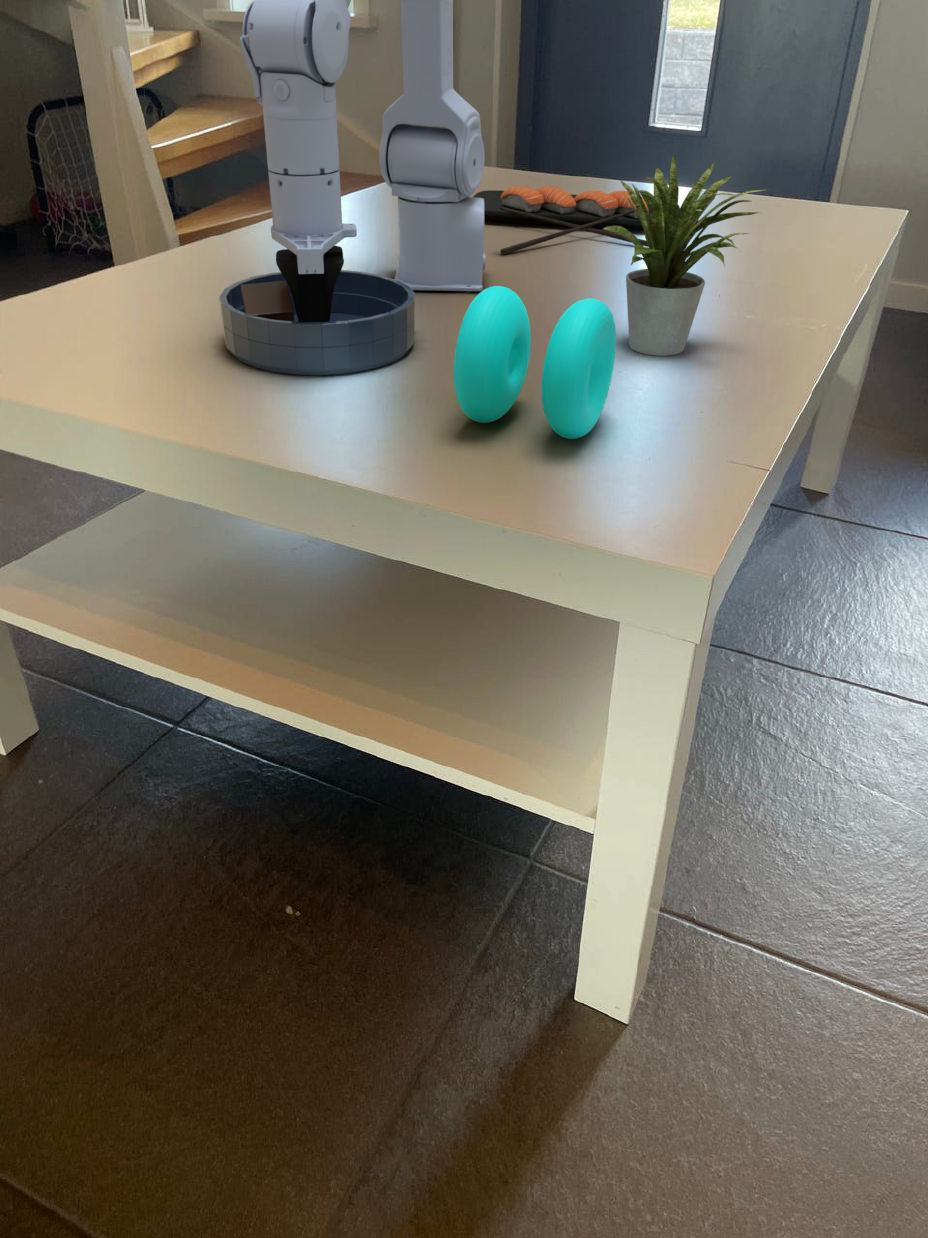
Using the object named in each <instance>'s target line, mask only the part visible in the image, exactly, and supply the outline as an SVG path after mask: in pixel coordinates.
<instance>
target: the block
mask: <svg viewBox="0 0 928 1238" xmlns="http://www.w3.org/2000/svg"><path fill="white" fill-rule="evenodd" d="M241 291H242V298H243V306H244V313H247V314H249V315H252V316H257V317H262V318H267V319H272V320H282V321H292V322H294V311H293V306H292V302H291V297H290V293H289V288H288V284H287V282H286V281H278V282H267V283H256V284H245V285H241Z"/></svg>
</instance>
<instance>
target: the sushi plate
mask: <svg viewBox="0 0 928 1238" xmlns="http://www.w3.org/2000/svg"><path fill="white" fill-rule="evenodd" d="M622 192H623V193H624V194H625V195H626V196H627V197H628V198H629V199H630V201H631V202H632V200H631V198H630V196H629V193H628V191H627V190H615V191H611V192H609V193H606V192H604V191H600V190H588V191H584V192H581V193H579V194H570V193H569V192H568V191H565V190H564V189H561V188H558V187H556V186H540V187H538V188H536V189H533V188H531V187H528V186H513V187H510V188H507V189H505V190H497V189H495V190H494V189H490V190H481V191H478V192H477V193H475V194H474V195H473V196H472V197H473V198H483V199H484V216H488V217H489V219H490V220H493V221H496V222H505V223H506V222H507V223H518V224H522V223H523V224H536V225H553V226H565V227H568V229H565V230H561V231H558V232H555V233H551V234H548V235H544V236H540V237H537V238H534V239H529V240H527V241H523V242H520V243H517V244H513V245H510V246H507V247H504V248H503V247H502V248H501V249H500V255H508V254H511V253H514V252H517V251H520V250H524V249H526V248H529V247H533V246H536V245H538V244H542V243H544V242H549V241H550V240H554V239H556V238H559V237H563V236H566V235H568V234H571V233H574V232H578V231H585V232H588V233H591V234H597V235H600V236H605V237H607V238H612V239H615V240H619V241H624V242H627V243H631V244H633V243H632V242H631V241H630V240H628V239H626V238H625V237H623V236H621V235H619V234H616V233H614V232H611V231H607V230H603V228H606V227H608V226H621V227H623V228H625V229H627V230H631V231H644V229H643V226H642V224H641V221H640V219H639V218H638V216H637V214H636V212H635V211H634V209H633V208H632V206H631V204H630V202H629V200H628V199H627V198H626V196H625V195H624V194H623V193H622ZM641 197H642V196H641ZM642 200H643V202H644V204H645V206H646V208H647V211H648V214H649V217H650V220H651V216H650V213H649V209H648V207H647V204H646V202H645V200H644V199H643V197H642ZM632 204H633V202H632ZM633 206H634V208H635V210H636V211H637V213H638V214H639V212H638V210H637V209H636V207H635V205H634V204H633ZM680 207H681V206H680V205H679V204H678V209H677V213H678V211H679V209H680ZM639 216H640V214H639ZM640 218H641V216H640ZM651 224H652V220H651ZM569 227H570V228H569ZM598 228H599V229H598ZM637 239H638V240H639V241H640V242H641V244H642V245H643V247H646V248H649V246H648V244H647V241H646V239H641V238H637Z"/></svg>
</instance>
